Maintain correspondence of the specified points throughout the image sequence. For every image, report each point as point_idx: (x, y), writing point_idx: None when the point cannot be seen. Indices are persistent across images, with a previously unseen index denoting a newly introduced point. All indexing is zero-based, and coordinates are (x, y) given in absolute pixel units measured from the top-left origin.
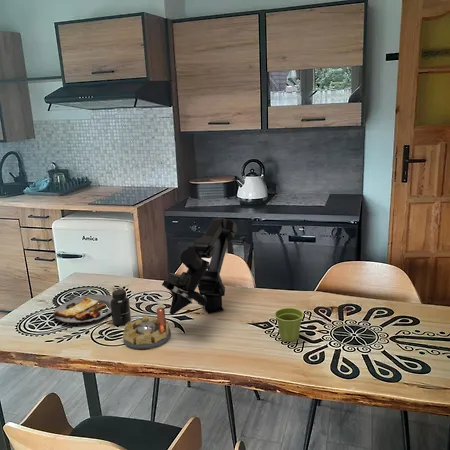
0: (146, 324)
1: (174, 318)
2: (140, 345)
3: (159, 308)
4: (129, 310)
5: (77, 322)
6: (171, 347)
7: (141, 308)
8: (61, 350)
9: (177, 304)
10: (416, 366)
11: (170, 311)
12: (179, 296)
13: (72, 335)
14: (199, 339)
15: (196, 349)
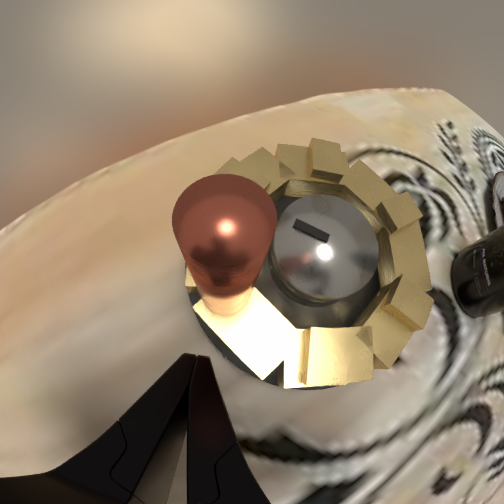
0: (341, 251)
1: (352, 472)
2: None
3: (256, 225)
4: (494, 292)
5: (493, 182)
6: (136, 273)
7: (494, 392)
8: (402, 104)
9: (105, 436)
10: None
11: (199, 366)
12: (16, 497)
13: (456, 155)
14: (82, 399)
15: (45, 321)
